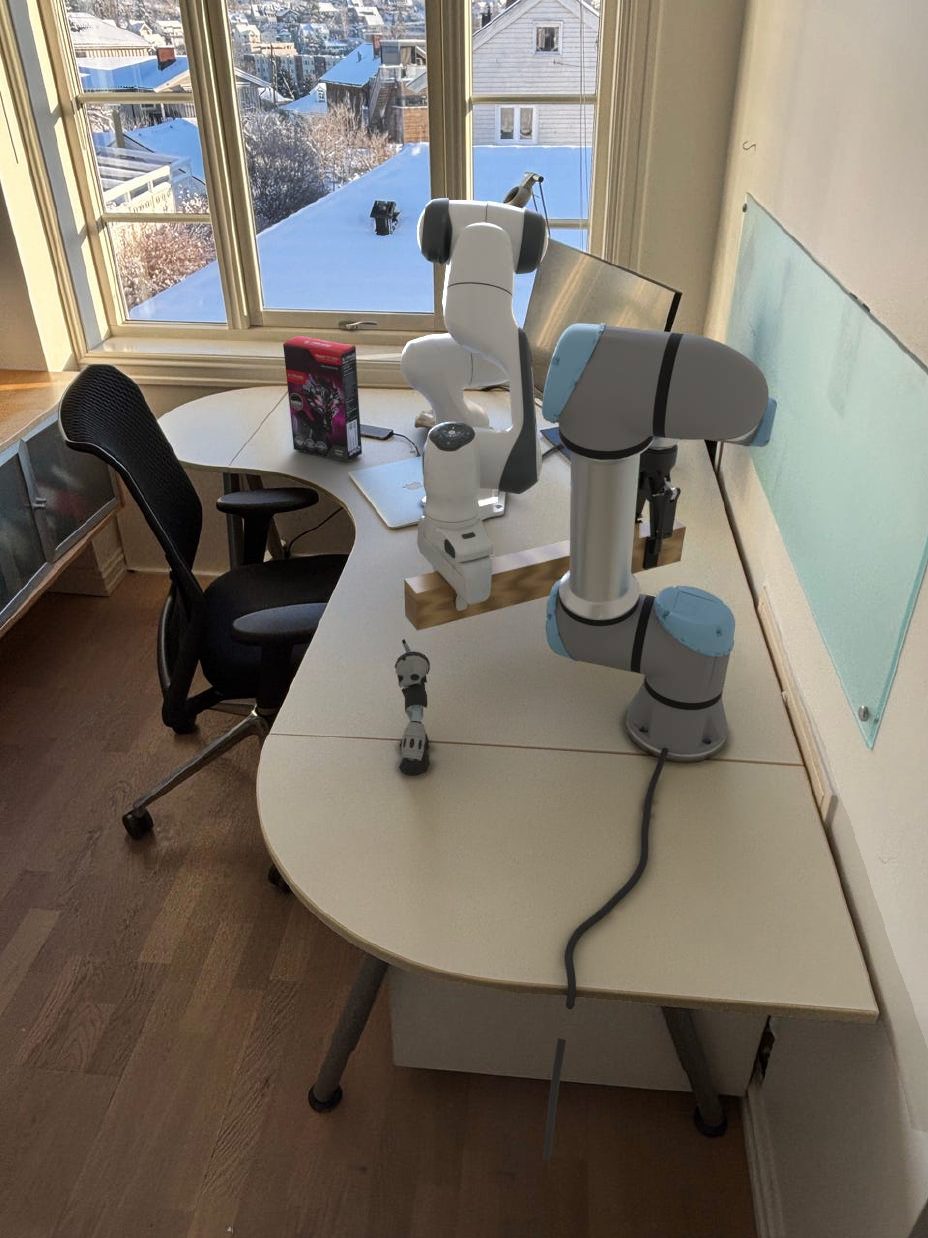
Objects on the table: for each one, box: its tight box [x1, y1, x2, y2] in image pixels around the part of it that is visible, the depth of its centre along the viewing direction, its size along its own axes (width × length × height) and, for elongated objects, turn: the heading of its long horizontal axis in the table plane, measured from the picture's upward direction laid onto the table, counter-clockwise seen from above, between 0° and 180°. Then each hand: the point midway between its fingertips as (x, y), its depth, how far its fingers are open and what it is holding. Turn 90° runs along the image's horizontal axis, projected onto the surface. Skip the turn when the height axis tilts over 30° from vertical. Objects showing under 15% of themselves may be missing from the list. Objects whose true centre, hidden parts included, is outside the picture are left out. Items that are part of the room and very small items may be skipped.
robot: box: [394, 638, 431, 776], centre depth 132 cm, size 20×5×20 cm, turn 3°
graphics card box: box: [282, 335, 363, 463], centre depth 222 cm, size 17×7×27 cm, turn 62°
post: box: [403, 518, 687, 632], centre depth 161 cm, size 54×5×7 cm, turn 116°
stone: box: [413, 409, 495, 433], centre depth 236 cm, size 21×15×6 cm
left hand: (451, 598), depth 154 cm, fingers closed on post, 5 cm apart
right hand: (640, 559), depth 170 cm, fingers closed on post, 5 cm apart
